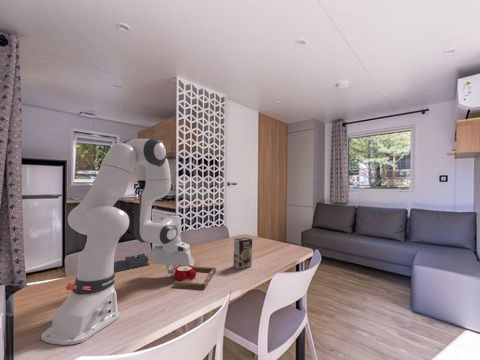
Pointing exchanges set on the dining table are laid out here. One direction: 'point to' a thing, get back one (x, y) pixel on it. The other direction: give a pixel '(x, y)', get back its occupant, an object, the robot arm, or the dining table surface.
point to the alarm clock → (184, 272)
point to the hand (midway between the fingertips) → (171, 273)
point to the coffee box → (242, 252)
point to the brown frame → (197, 285)
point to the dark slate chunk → (131, 263)
